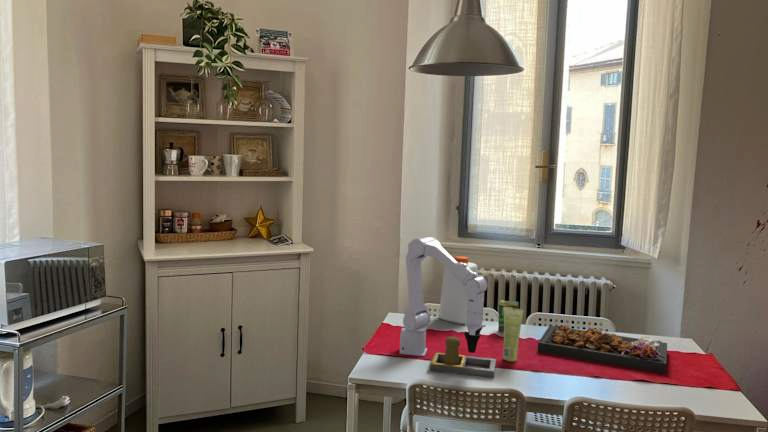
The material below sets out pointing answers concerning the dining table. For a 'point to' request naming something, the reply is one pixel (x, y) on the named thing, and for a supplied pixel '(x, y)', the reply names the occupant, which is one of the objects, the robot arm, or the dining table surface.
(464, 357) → the rail plate
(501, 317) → the coffee box
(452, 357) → the cork
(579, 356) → the food platter
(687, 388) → the dining table surface
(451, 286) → the plastic bottle
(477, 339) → the robot arm
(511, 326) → the tube
